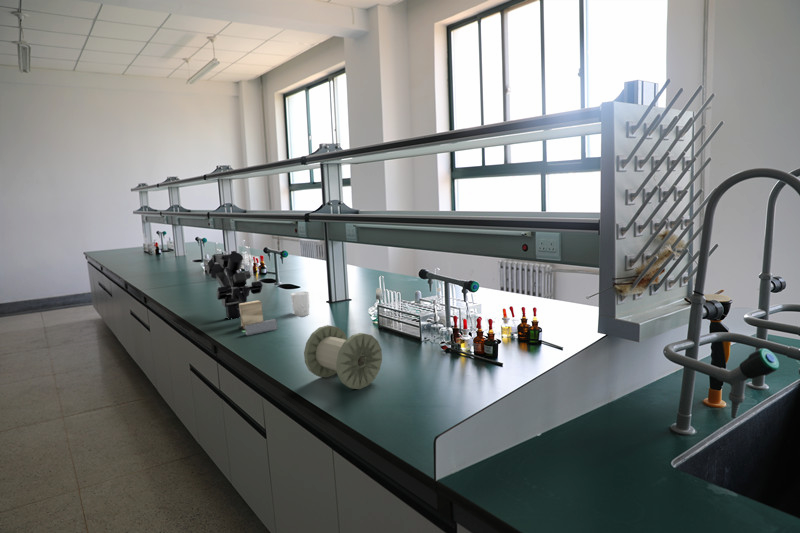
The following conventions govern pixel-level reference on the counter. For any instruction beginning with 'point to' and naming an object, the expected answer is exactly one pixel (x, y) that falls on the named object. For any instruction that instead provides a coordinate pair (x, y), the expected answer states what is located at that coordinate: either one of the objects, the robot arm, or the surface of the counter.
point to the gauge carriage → (250, 313)
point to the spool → (343, 356)
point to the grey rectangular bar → (260, 327)
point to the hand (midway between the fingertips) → (245, 305)
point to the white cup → (300, 303)
